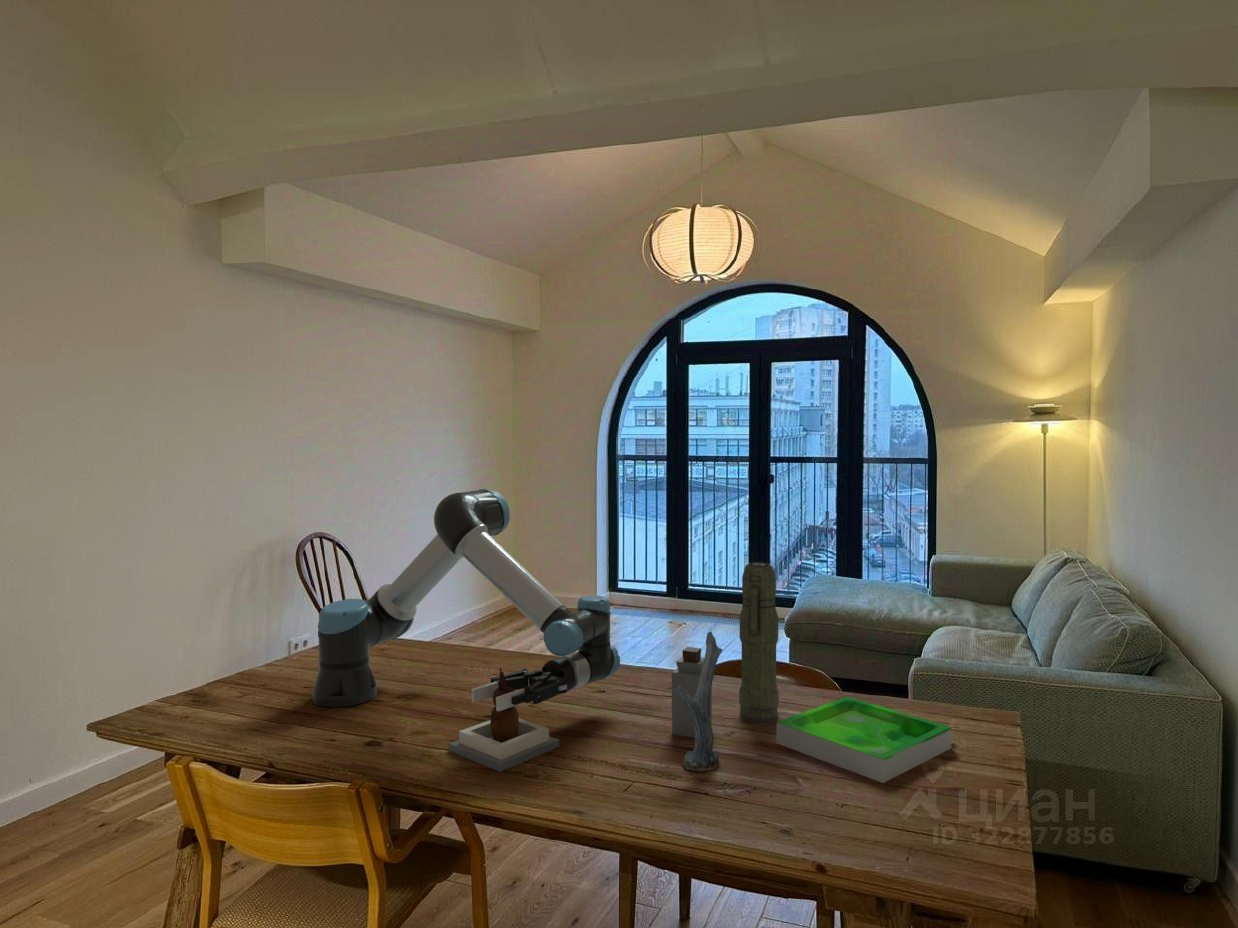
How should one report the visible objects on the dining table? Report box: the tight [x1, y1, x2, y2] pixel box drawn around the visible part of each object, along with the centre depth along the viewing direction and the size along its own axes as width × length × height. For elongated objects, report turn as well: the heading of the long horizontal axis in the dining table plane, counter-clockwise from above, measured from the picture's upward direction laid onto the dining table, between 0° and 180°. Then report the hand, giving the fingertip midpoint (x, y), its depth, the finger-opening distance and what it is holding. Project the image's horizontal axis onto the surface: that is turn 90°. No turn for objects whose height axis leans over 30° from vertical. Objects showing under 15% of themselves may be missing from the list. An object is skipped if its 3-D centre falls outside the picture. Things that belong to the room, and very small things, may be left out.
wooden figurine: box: [490, 667, 520, 743], centre depth 164 cm, size 7×6×15 cm
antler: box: [675, 631, 723, 772], centre depth 157 cm, size 12×8×25 cm
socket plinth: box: [448, 717, 560, 773], centre depth 165 cm, size 16×16×4 cm
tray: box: [776, 696, 952, 784], centre depth 165 cm, size 25×25×5 cm
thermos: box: [738, 561, 780, 722], centre depth 183 cm, size 9×12×35 cm
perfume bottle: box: [671, 646, 713, 739], centre depth 174 cm, size 7×7×18 cm
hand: (484, 700), depth 161 cm, fingers open, 7 cm apart
